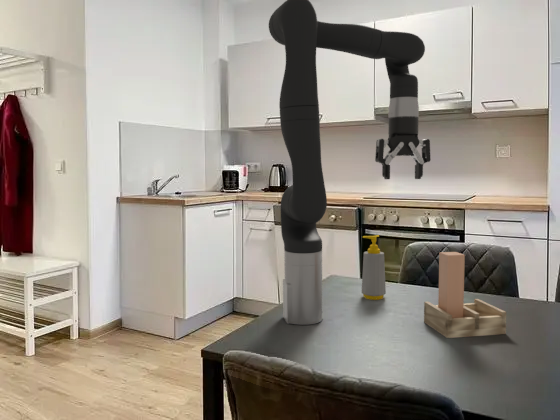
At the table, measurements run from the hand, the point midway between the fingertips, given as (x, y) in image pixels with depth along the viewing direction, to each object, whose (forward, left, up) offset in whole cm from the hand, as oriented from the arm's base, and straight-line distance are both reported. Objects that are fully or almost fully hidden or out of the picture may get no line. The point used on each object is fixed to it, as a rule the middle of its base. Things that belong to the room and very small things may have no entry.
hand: (402, 179), depth 125 cm
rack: (+7, -19, -34) cm, 40 cm away
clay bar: (+4, -19, -33) cm, 38 cm away
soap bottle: (-4, +10, -34) cm, 36 cm away
